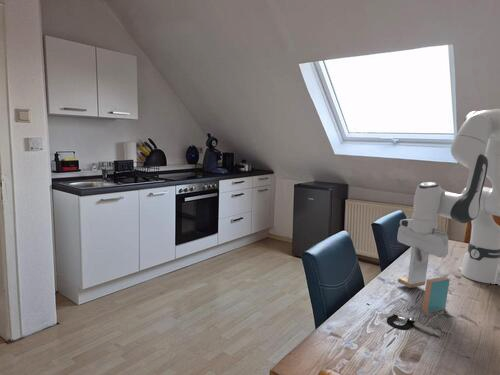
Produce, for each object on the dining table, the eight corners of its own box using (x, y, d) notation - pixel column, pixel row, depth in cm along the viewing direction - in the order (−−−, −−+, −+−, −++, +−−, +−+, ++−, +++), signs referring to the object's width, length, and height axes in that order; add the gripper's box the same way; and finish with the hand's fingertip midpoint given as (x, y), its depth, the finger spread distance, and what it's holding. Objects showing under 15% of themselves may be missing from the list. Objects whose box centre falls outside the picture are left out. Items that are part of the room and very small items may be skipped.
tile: (440, 306, 130) (444, 276, 128) (445, 308, 128) (449, 278, 127) (422, 310, 126) (426, 279, 124) (427, 313, 124) (432, 282, 123)
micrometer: (382, 323, 116) (383, 316, 116) (392, 316, 121) (393, 309, 121) (431, 345, 106) (432, 337, 105) (441, 337, 110) (442, 329, 110)
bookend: (412, 279, 149) (416, 242, 147) (424, 284, 144) (429, 246, 141) (397, 281, 146) (402, 244, 143) (410, 288, 140) (415, 248, 138)
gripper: (454, 232, 131) (449, 269, 133) (407, 218, 149) (404, 251, 151) (442, 234, 128) (437, 271, 130) (396, 219, 146) (392, 252, 149)
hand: (419, 260), depth 141 cm, fingers closed on bookend
